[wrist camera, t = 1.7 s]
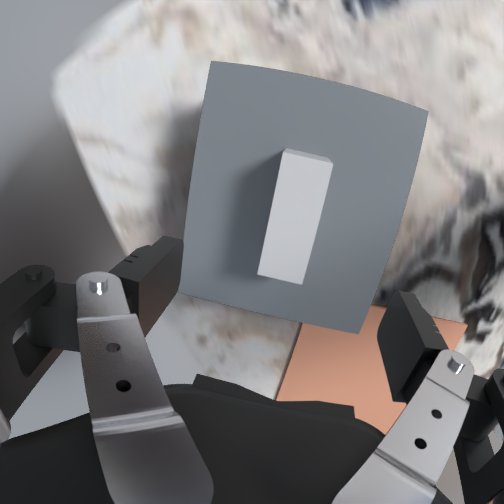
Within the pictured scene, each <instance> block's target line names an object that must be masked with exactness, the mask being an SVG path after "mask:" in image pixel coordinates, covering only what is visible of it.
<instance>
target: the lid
mask: <svg viewBox="0 0 504 504" xmlns="http://www.w3.org/2000/svg"><path fill="white" fill-rule="evenodd" d="M428 112H429V111H426V110H424V109H421V108H418V107H416V106H413V105H410V104H407V103H404V102H402V101H399V100H396V99H393V98H390V97H387V96H383V95H380V94H377V93H374V92H370V91H367V90H364V89H360V88H356V87H353V86H349V85H345V84H342V83H338V82H334V81H330V80H325V79H321V78H317V77H312V76H308V75H303V74H298V73H293V72H287V71H282V70H276V69H270V68H264V67H258V66H251V65H243V64H235V63H227V62H217V61H211V64H210V69H209V74H208V79H207V85H206V90H205V95H204V101H203V106H202V112H201V118H200V124H199V130H198V136H197V142H196V149H195V155H194V162H193V169H192V176H191V183H190V190H189V198H188V205H187V214H186V222H185V231H184V239H183V242H184V250H183V260H182V270H181V280H180V285H179V291H178V293H182V294H186V295H190V296H193V297H197V298H201V299H205V300H209V301H212V302H216V303H220V304H224V305H228V306H232V307H236V308H240V309H244V310H249V311H253V312H257V313H261V314H265V315H270V316H274V317H278V318H283V319H287V320H292V321H296V322H301V323H305V324H310V325H315V326H319V327H324V328H329V329H334V330H339V331H344V332H349V333H354V334H359V332H360V330H361V328H362V325H363V323H364V321H365V318H366V316H367V313H368V311H369V308H370V306H371V303H372V301H373V298H374V296H375V293H376V291H377V288H378V286H379V283H380V280H381V278H382V275H383V272H384V269H385V267H386V264H387V261H388V258H389V255H390V252H391V250H392V247H393V244H394V241H395V238H396V235H397V231H398V228H399V225H400V222H401V219H402V216H403V212H404V209H405V206H406V202H407V199H408V195H409V192H410V188H411V184H412V181H413V177H414V173H415V169H416V166H417V162H418V157H419V153H420V149H421V145H422V140H423V136H424V131H425V127H426V122H427V117H428Z"/></svg>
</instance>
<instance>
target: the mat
mask: <svg viewBox="0 0 504 504" xmlns="http://www.w3.org/2000/svg"><path fill="white" fill-rule="evenodd" d="M385 311H386V307H381V306H376V305H372V304H371V306H370V308H369V311H368V313H367V316H366V318H365V321H364V323H363V325H362V328H361V330H360V332H359V334H354V333H349V332H344V331H339V330H334V329H329V328H324V327H319V326H315V325H310V324H305V323H303V324H302V327H301V330H300V333H299V336H298V339H297V342H296V345H295V348H294V351H293V353H292V356H291V359H290V362H289V365H288V368H287V371H286V373H285V376H284V379H283V382H282V385H281V387H280V390H279V393H278V396H277V398H276V401H323V402H329V403H336V404H343V405H350V406H354V412H355V418H357V419H360V420H362V421H365V422H367V423H369V424H370V425H372V426H374V427H376V428H377V429H378V430H380V431H381V432H382V433H384V434H386V433H387V432H388V430H389V429H390V428H391V426H392V425H393V423H394V422H395V421H396V419H397V418H398V416H399V415H400V414H401V412H402V411H403V409H404V408H405V407H406V403H402V402H393V400H392V396H391V392H390V388H389V384H388V380H387V376H386V372H385V368H384V364H383V360H382V356H381V352H380V349H379V345H378V342H377V331H378V327H379V324H380V322H381V320H382V318H383V315H384V313H385ZM432 318H433V320H434V322H435V324H436V326H437V327H438V329H439V331H440V333H441V335H442V337H443V338H444V340H445V342H446V344H447V346H448V348H449V350H455V348H456V346H457V344H458V343H459V341H460V339H461V337H462V335H463V333H464V332H465V330H466V328H467V326H468V325H467V324H465V323H460V322H454V321H449V320H444V319H439V318H434V317H432Z"/></svg>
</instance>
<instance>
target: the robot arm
mask: <svg viewBox="0 0 504 504" xmlns="http://www.w3.org/2000/svg"><path fill="white" fill-rule="evenodd" d="M183 250H184V242H183V240H179V239H175V238H171V237H167V236H163V237H161V238H160V239H159V240H158V241H157V242H156V243H154V244H153V245H152V246H150V245H146V246H144V247H141V248H138V249H136V250H135V251H133V252H132V253H131V254H130V256H127V257H126V258H125V259H124V261H121V262H120V263H119V264H118V265H116V266H115V267H114V268H113V269H112V270H111V271H109V272H108V273H107V272H91V273H87V274H85V275H83V276H81V277H80V278H79V279H78V280H77V282H76V284H66V283H58V282H56V281H55V273H54V270H53V269H52V268H50V267H48V266H45V265H30V266H26V267H24V268H22V269H20V270H18V271H17V272H16V273H15V274H13V275H12V276H10V277H9V278H8V279H6V280H5V281H3V282H2V283H1V284H0V504H452V502H450V500H449V499H448V498H447V497H446V496H445V495H444V494H442V492H441V491H440V490H439V489H438V488H437V487H436V483H437V480H438V478H439V476H440V474H441V472H442V470H443V468H444V466H445V464H446V462H447V460H448V457H449V455H450V453H451V451H452V448H454V452H455V457H456V461H457V466H458V470H459V475H460V480H461V485H462V490H463V496H464V502H465V504H504V440H503V444H502V447H501V449H500V450H499V451H498V452H497V453H496V454H495V455H494V452H493V449H492V446H491V443H490V440H489V437H488V435H489V433H490V432H491V431H492V430H493V429H494V428H495V427H496V425H497V424H498V423H499V425H500V427H501V430H502V433H503V437H504V369H496V370H494V372H493V373H492V375H491V376H490V378H489V379H485V378H483V377H480V376H477V375H474V367H473V365H472V363H471V362H470V361H469V359H467V358H466V357H465V356H464V355H462V354H461V353H459V352H456V351H454V350H449V348H448V346H447V344H446V342H445V340H444V338H443V337H442V335H441V333H440V331H439V329H438V327H437V326H436V324H435V322H434V320H433V318H432V317H431V316H430V315H429V314H428V313H427V312H426V311H425V310H424V309H423V308H422V306H421V305H420V303H419V301H418V299H417V298H416V296H415V294H412V293H408V292H403V291H399V290H396V291H395V292H394V293H393V294H392V296H391V299H390V301H389V304H388V306H387V308H386V311H385V313H384V315H383V318H382V320H381V322H380V324H379V327H378V331H377V342H378V345H379V349H380V352H381V356H382V360H383V364H384V368H385V372H386V376H387V380H388V384H389V388H390V392H391V396H392V400H393V402H402V403H406V407H405V408H404V409H403V411H402V412H401V414H400V415H399V416H398V418H397V419H396V421H395V422H394V423H393V425H392V426H391V428H390V429H389V430H388V432H387V433H386V434H384V433H382V432H381V431H380V430H378V429H377V428H376V427H374V426H372V425H370V424H369V423H367V422H365V421H362V420H360V419H357V418H355V412H354V406H350V405H343V404H336V403H329V402H323V401H276V400H272V399H270V398H267V397H265V396H263V395H260V394H258V393H256V392H253V391H251V390H249V389H246V388H244V387H242V386H240V385H237V384H234V383H230V382H226V381H222V380H219V379H215V378H211V377H207V376H204V375H200V374H197V375H196V378H195V380H194V382H193V384H171V385H164V386H163V384H162V382H161V380H160V377H159V374H158V372H157V369H156V367H155V364H154V362H153V359H152V357H151V354H150V351H149V349H148V346H147V343H146V340H145V337H146V335H147V334H148V332H149V331H150V330H151V328H152V327H153V325H154V324H155V323H156V321H157V320H158V318H159V317H160V316H161V314H162V313H163V311H164V310H165V309H166V307H167V306H168V304H169V303H170V302H171V300H172V299H173V297H174V296H175V295H176V293H177V291H178V288H179V285H180V280H181V270H182V260H183ZM22 323H24V324H25V328H26V332H25V333H24V334H23V335H22V336H21V337H20V338H19V339H18V340H17V341H16V342H15V343H14V344H13V343H12V341H13V335H14V333H15V331H16V330H17V329H18V327H20V326H21V325H22ZM63 350H69V351H77V352H80V354H81V362H82V369H83V376H84V383H85V389H86V394H87V400H88V406H89V411H90V412H89V413H87V414H84V415H81V416H78V417H76V418H73V419H70V420H67V421H64V422H61V423H59V424H55V425H52V426H49V427H46V428H43V429H40V430H37V431H34V432H31V433H27V434H24V435H21V436H17V437H14V438H11V439H9V437H10V434H11V424H10V419H11V418H12V416H13V415H14V414H15V412H16V411H17V410H18V408H19V407H20V406H21V404H22V403H23V401H24V400H25V399H26V397H27V396H28V395H29V393H30V392H31V391H32V389H33V388H34V387H35V386H36V384H37V383H38V382H39V380H40V379H41V378H42V376H43V375H44V374H45V372H46V371H47V370H48V369H49V367H50V366H51V365H52V364H53V362H54V361H55V360H56V359H57V358H58V356H59V355H60V354H61V353H62V351H63ZM8 439H9V440H8Z"/></svg>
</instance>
